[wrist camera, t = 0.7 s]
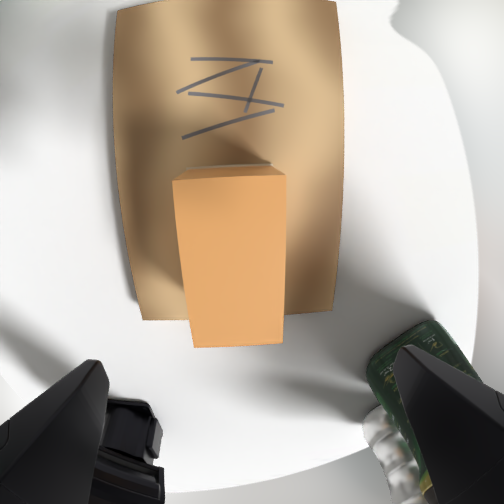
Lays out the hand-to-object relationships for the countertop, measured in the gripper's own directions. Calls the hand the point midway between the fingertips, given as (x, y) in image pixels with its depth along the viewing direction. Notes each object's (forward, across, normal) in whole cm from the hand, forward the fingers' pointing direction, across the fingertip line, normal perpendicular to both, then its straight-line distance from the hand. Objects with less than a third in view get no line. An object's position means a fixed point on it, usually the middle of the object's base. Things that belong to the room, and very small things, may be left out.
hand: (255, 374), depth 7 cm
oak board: (+13, +1, -5) cm, 14 cm away
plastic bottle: (+13, -17, +24) cm, 32 cm away
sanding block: (+11, 0, 0) cm, 11 cm away
